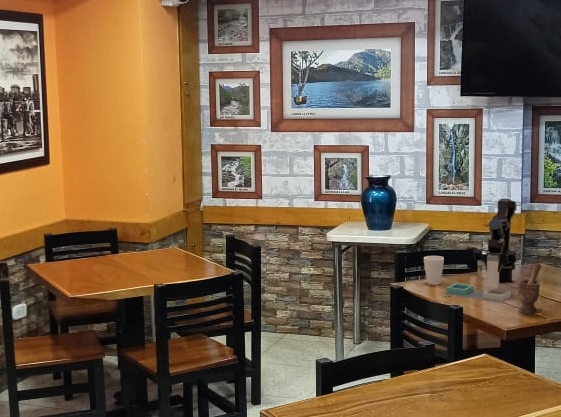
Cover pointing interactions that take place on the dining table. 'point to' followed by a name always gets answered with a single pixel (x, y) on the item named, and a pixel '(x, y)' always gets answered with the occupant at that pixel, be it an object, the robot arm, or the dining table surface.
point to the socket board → (478, 293)
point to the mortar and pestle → (529, 292)
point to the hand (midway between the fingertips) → (492, 271)
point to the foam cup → (433, 268)
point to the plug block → (492, 271)
